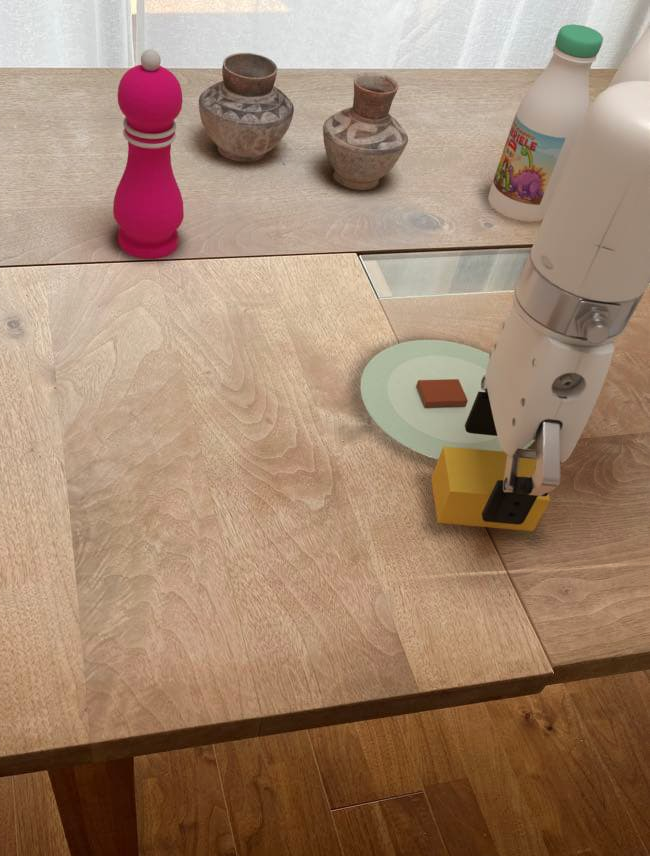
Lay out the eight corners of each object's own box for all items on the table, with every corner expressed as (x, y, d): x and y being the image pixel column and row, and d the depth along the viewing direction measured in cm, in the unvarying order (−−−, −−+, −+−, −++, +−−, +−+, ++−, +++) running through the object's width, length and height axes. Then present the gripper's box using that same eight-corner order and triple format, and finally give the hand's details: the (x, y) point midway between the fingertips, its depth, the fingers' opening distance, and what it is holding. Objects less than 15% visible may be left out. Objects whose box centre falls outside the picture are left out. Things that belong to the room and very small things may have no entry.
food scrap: (456, 385, 83) (458, 378, 83) (465, 407, 81) (468, 400, 81) (415, 386, 83) (417, 379, 82) (424, 408, 81) (426, 401, 80)
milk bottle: (519, 187, 111) (582, 12, 95) (562, 219, 107) (635, 42, 91) (472, 199, 108) (529, 21, 92) (515, 232, 104) (582, 52, 88)
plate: (521, 357, 89) (525, 347, 88) (553, 481, 78) (558, 472, 77) (353, 341, 88) (355, 331, 87) (362, 464, 77) (365, 455, 76)
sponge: (518, 495, 77) (539, 454, 73) (528, 540, 73) (550, 500, 70) (427, 487, 76) (443, 445, 72) (433, 532, 73) (450, 491, 69)
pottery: (387, 216, 103) (411, 113, 94) (183, 166, 106) (187, 61, 97) (403, 170, 110) (427, 71, 101) (211, 125, 113) (218, 24, 104)
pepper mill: (196, 251, 95) (208, 55, 80) (145, 276, 91) (147, 75, 76) (150, 221, 98) (154, 26, 82) (99, 244, 94) (93, 44, 79)
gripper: (669, 385, 52) (558, 563, 66) (601, 227, 64) (518, 406, 77) (546, 372, 52) (459, 554, 65) (499, 214, 63) (433, 397, 76)
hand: (491, 474), depth 71 cm, fingers open, 9 cm apart
